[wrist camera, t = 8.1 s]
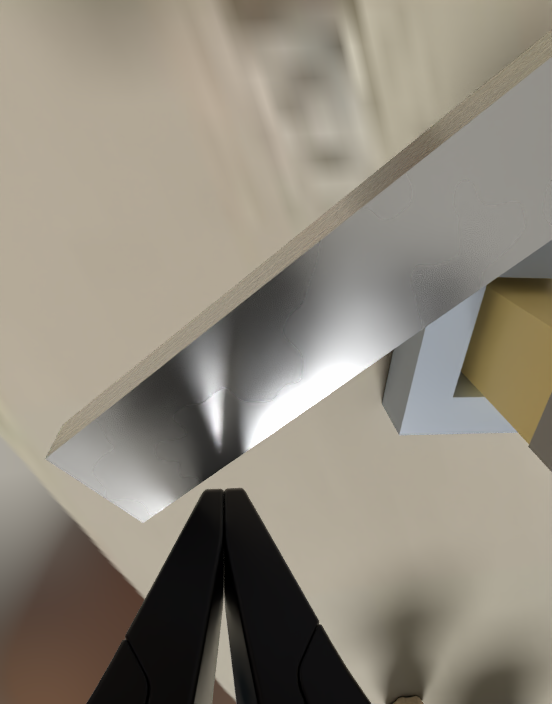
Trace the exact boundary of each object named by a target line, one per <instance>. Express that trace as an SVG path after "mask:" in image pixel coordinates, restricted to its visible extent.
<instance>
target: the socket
mask: <svg viewBox="0 0 552 704" xmlns="http://www.w3.org/2000/svg"><path fill="white" fill-rule="evenodd" d="M499 277H512V278H552V240H551V241H549V242H548V243H546V244H545V245H544V246H542V247H541V248H539V249H538V250H536V251H535V252H533V253H532V254H531V255H529V256H528V257H526V258H525V259H523V260H522V261H520V262H519V263H518V264H516V265H515V266H513V267H512V268H510V269H509V270H507V271H506V272H505V273H503V274H502V275H500V276H499ZM486 286H487V285H486ZM486 286H484V287H483V288H481V289H480V290H479V291H477V292H476V293H474V294H473V295H471V296H470V297H468V298H467V299H466V300H464V301H463V302H461V303H460V304H458V305H457V306H455V307H454V308H453V309H451V310H450V311H448V312H447V313H445V314H444V315H442V316H441V317H440V318H438V319H437V320H435V321H434V322H432V323H431V324H429V325H428V326H427V327H425V328H424V329H422V330H421V331H419V332H418V333H416V334H415V335H414V336H412V337H411V338H409V339H408V340H406V341H405V342H403V343H402V344H401V345H399V346H398V347H396V348H395V349H394V350H393V355H392V359H391V364H390V369H389V374H388V378H387V383H386V388H385V392H384V397H383V402H382V405H383V407H384V409H385V410H386V412H387V414H388V416H389V418H390V419H391V421H392V423H393V425H394V427H395V428H396V430H397V432H398V434H399V435H429V434H472V433H514V432H517V431H516V430H515V429H514V428H513V427H512V426H511V424H510V423H509V422H508V421H507V420H506V419H505V418H504V417H503V416H502V415H501V414H500V413H499V412H498V411H497V409H496V408H495V407H494V406H493V405H492V404H491V403H490V402H489V401H488V400H487V399H486V398H485V397H484V396H483V394H482V393H481V392H480V391H479V390H478V389H477V388H476V387H475V386H474V385H473V384H472V383H471V382H470V381H469V380H468V378H467V377H466V376H465V375H464V374H463V373H462V372H461V368H462V365H463V362H464V359H465V355H466V352H467V349H468V345H469V342H470V339H471V335H472V332H473V329H474V326H475V322H476V319H477V316H478V312H479V309H480V306H481V302H482V299H483V296H484V293H485V289H486Z"/></svg>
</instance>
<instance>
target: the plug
mask: <svg viewBox="0 0 552 704" xmlns="http://www.w3.org/2000/svg"><path fill="white" fill-rule="evenodd" d="M461 372H462V373H463V374H464V375H465V376H466V377H467V378H468V380H469V381H470V382H471V383H472V384H473V385H474V386H475V387H476V388H477V389H478V390H479V391H480V392H481V393H482V394H483V396H484V397H485V398H486V399H487V400H488V401H489V402H490V403H491V404H492V405H493V406H494V407H495V408H496V409H497V411H498V412H499V413H500V414H501V415H502V416H503V417H504V418H505V419H506V420H507V421H508V422H509V423H510V424H511V426H512V427H513V428H514V429H515V430H516V431H517V432H518V433H519V434H520V435H521V436H522V437H523V438H524V439H525V440H526V442H527V443H528V444H529V446H528V447H529V448H530V449H531V450H532V451H533V452H534V453H535V454H536V455H537V456H538V458H539V459H540V460H541V461H542V462H543V463H544V464H545V465H546V466H547V467H548V468H549V469H550V471H551V472H552V278H512V277H497V278H496V279H494V280H493V281H492V282H490V283H489V284H487V286H486V289H485V293H484V296H483V299H482V302H481V306H480V309H479V312H478V316H477V319H476V322H475V326H474V329H473V332H472V335H471V339H470V342H469V345H468V349H467V352H466V355H465V359H464V362H463V365H462V368H461Z"/></svg>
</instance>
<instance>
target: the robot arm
mask: <svg viewBox="0 0 552 704" xmlns="http://www.w3.org/2000/svg"><path fill="white" fill-rule="evenodd" d="M223 597H224V598H225V610H226V618H227V627H228V635H229V644H230V652H231V660H232V669H233V677H234V686H235V694H236V703H237V704H371V702H370V701H369V699H368V698H367V697H366V695H365V694H364V692H363V691H362V689H361V688H360V686H359V685H358V683H357V682H356V681H355V679H354V678H353V676H352V675H351V673H350V672H349V670H348V669H347V667H346V665H345V664H344V662H343V660H342V659H341V657H340V656H339V654H338V652H337V651H336V649H335V647H334V646H333V644H332V642H331V641H330V639H329V637H328V635H327V634H326V632H325V630H324V628H323V627H322V625H320V624H319V620H318V618H317V616H316V615H315V613H314V611H313V609H312V608H311V606H310V604H309V602H308V601H307V599H306V597H305V595H304V594H303V592H302V590H301V588H300V587H299V585H298V583H297V581H296V580H295V578H294V576H293V574H292V573H291V571H290V569H289V567H288V566H287V564H286V562H285V560H284V559H283V557H282V555H281V553H280V551H279V550H278V548H277V546H276V544H275V543H274V541H273V539H272V537H271V536H270V534H269V532H268V530H267V529H266V527H265V525H264V523H263V522H262V520H261V518H260V516H259V515H258V513H257V511H256V509H255V508H254V506H253V504H252V502H251V501H250V499H249V497H248V495H247V494H246V492H245V490H244V489H242V488H231V489H226V490H225V491H223V490H222V489H207V490H205V491H204V492H203V493H202V495H201V497H200V498H199V500H198V502H197V504H196V506H195V508H194V510H193V511H192V513H191V515H190V517H189V519H188V521H187V522H186V524H185V526H184V528H183V530H182V532H181V534H180V535H179V537H178V539H177V541H176V543H175V545H174V547H173V548H172V550H171V552H170V554H169V556H168V558H167V560H166V561H165V563H164V565H163V567H162V569H161V571H160V572H159V574H158V576H157V578H156V580H155V582H154V584H153V585H152V587H151V589H150V591H149V593H148V595H147V597H146V598H145V600H144V602H143V604H142V606H141V608H140V609H139V611H138V613H137V615H136V617H135V619H134V621H133V623H132V624H131V627H130V628H129V630H128V632H127V634H126V636H125V638H126V640H123V641H122V642H121V645H120V646H119V648H118V650H117V652H116V653H115V655H114V658H113V659H112V661H111V663H110V664H109V666H108V668H107V670H106V671H105V673H104V675H103V677H102V678H101V680H100V682H99V684H98V686H97V687H96V689H95V690H94V692H93V694H92V696H91V697H90V699H89V700H88V702H87V703H86V704H212V698H213V689H214V680H215V672H216V663H217V654H218V645H219V636H220V627H221V619H222V609H223Z"/></svg>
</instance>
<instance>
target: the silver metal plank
mask: <svg viewBox="0 0 552 704" xmlns="http://www.w3.org/2000/svg"><path fill="white" fill-rule="evenodd" d="M551 240H552V30H551V31H550V32H548V33H547V34H546V35H545V36H543V37H542V38H541V39H540V40H538V41H537V42H536V43H535V44H533V45H532V46H531V47H530V48H528V49H527V50H526V51H525V52H524V53H522V54H521V55H520V56H519V57H517V58H516V59H515V60H514V61H512V62H511V63H510V64H509V65H507V66H506V67H505V68H504V69H502V70H501V71H500V72H499V73H498V74H496V75H495V76H494V77H493V78H491V79H490V80H489V81H488V82H486V83H485V84H484V85H483V86H481V87H480V88H479V89H478V90H477V91H475V92H474V93H473V94H472V95H470V96H469V97H468V98H467V99H465V100H464V101H463V102H462V103H460V104H459V105H458V106H457V107H455V108H454V109H453V110H452V111H451V112H449V113H448V114H447V115H446V116H444V117H443V118H442V119H441V120H439V121H438V122H437V123H436V124H434V125H433V126H432V127H431V128H430V129H428V130H427V131H426V132H425V133H423V134H422V135H421V136H420V137H418V138H417V139H416V140H415V141H413V142H412V143H411V144H410V145H408V146H407V147H406V148H405V149H404V150H402V151H401V152H400V153H399V154H397V155H396V156H395V157H394V158H392V159H391V160H390V161H389V162H387V163H386V164H385V165H384V166H382V167H381V168H380V169H379V170H378V171H376V172H375V173H374V174H373V175H371V176H370V177H369V178H368V179H366V180H365V181H364V182H363V183H361V184H360V185H359V186H358V187H357V188H355V189H354V190H353V191H352V192H350V193H349V194H348V195H347V196H345V197H344V198H343V199H342V200H340V201H339V202H338V203H337V204H335V205H334V206H333V207H332V208H331V209H329V210H328V211H327V212H326V213H324V214H323V215H322V216H321V217H319V218H318V219H317V220H316V221H314V222H313V223H312V224H311V225H309V226H308V227H307V228H306V229H305V230H303V231H302V232H301V233H300V234H298V235H297V236H296V237H295V238H293V239H292V240H291V241H290V242H288V243H287V244H286V245H285V246H284V247H282V248H281V249H280V250H279V251H277V252H276V253H275V254H274V255H272V256H271V257H270V258H269V259H267V260H266V261H265V262H264V263H262V264H261V265H260V266H259V267H258V268H256V269H255V270H254V271H253V272H251V273H250V274H249V275H248V276H246V277H245V278H244V279H243V280H241V281H240V282H239V283H238V284H237V285H235V286H234V287H233V288H232V289H230V290H229V291H228V292H227V293H225V294H224V295H223V296H222V297H220V298H219V299H218V300H217V301H215V302H214V303H213V304H212V305H211V306H209V307H208V308H207V309H206V310H204V311H203V312H202V313H201V314H199V315H198V316H197V317H196V318H194V319H193V320H192V321H191V322H189V323H188V324H187V325H186V326H185V327H183V328H182V329H181V330H180V331H178V332H177V333H176V334H175V335H173V336H172V337H171V338H170V339H168V340H167V341H166V342H165V343H164V344H162V345H161V346H160V347H159V348H157V349H156V350H155V351H154V352H152V353H151V354H150V355H149V356H147V357H146V358H145V359H144V360H142V361H141V362H140V363H139V364H138V365H136V366H135V367H134V368H133V369H131V370H130V371H129V372H128V373H126V374H125V375H124V376H123V377H121V378H120V379H119V380H118V381H116V382H115V383H114V384H113V385H112V386H110V387H109V388H108V389H107V390H105V391H104V392H103V393H102V394H100V395H99V396H98V397H97V398H95V399H94V400H93V401H92V402H91V403H89V404H88V405H87V406H86V407H84V408H83V409H82V410H81V411H79V412H78V413H77V414H76V415H74V416H73V417H72V418H71V419H69V420H68V421H67V422H66V423H65V424H63V425H62V427H61V429H60V431H59V433H58V435H57V437H56V439H55V441H54V443H53V445H52V447H51V448H50V450H49V452H48V454H47V456H46V458H45V459H46V460H47V461H49V462H51V463H52V464H54V465H55V466H57V467H58V468H60V469H61V470H63V471H64V472H66V473H67V474H69V475H70V476H72V477H73V478H75V479H76V480H78V481H80V482H81V483H83V484H84V485H86V486H87V487H89V488H90V489H92V490H93V491H95V492H96V493H98V494H99V495H101V496H102V497H104V498H105V499H107V500H109V501H110V502H112V503H113V504H115V505H116V506H118V507H119V508H121V509H122V510H124V511H125V512H127V513H128V514H130V515H131V516H133V517H134V518H136V519H138V520H139V521H141V522H142V523H144V522H145V521H147V520H148V519H149V518H151V517H152V516H154V515H155V514H157V513H158V512H160V511H161V510H162V509H164V508H165V507H167V506H168V505H170V504H171V503H173V502H174V501H175V500H177V499H178V498H180V497H181V496H183V495H184V494H186V493H187V492H188V491H190V490H191V489H193V488H194V487H196V486H197V485H199V484H200V483H201V482H203V481H204V480H206V479H207V478H209V477H210V476H212V475H213V474H214V473H216V472H217V471H219V470H220V469H222V468H223V467H225V466H226V465H227V464H229V463H230V462H232V461H233V460H235V459H236V458H238V457H239V456H240V455H242V454H243V453H245V452H246V451H248V450H249V449H251V448H252V447H253V446H255V445H256V444H258V443H259V442H261V441H262V440H263V439H265V438H266V437H268V436H269V435H271V434H272V433H274V432H275V431H276V430H278V429H279V428H281V427H282V426H284V425H285V424H287V423H288V422H289V421H291V420H292V419H294V418H295V417H297V416H298V415H300V414H301V413H302V412H304V411H305V410H307V409H308V408H310V407H311V406H313V405H314V404H315V403H317V402H318V401H320V400H321V399H323V398H324V397H326V396H327V395H328V394H330V393H331V392H333V391H334V390H336V389H337V388H339V387H340V386H341V385H343V384H344V383H346V382H347V381H349V380H350V379H352V378H353V377H354V376H356V375H357V374H359V373H360V372H362V371H363V370H365V369H366V368H367V367H369V366H370V365H372V364H373V363H375V362H376V361H378V360H379V359H380V358H382V357H383V356H385V355H386V354H388V353H389V352H391V351H392V350H393V349H395V348H396V347H398V346H399V345H401V344H402V343H403V342H405V341H406V340H408V339H409V338H411V337H412V336H414V335H415V334H416V333H418V332H419V331H421V330H422V329H424V328H425V327H427V326H428V325H429V324H431V323H432V322H434V321H435V320H437V319H438V318H440V317H441V316H442V315H444V314H445V313H447V312H448V311H450V310H451V309H453V308H454V307H455V306H457V305H458V304H460V303H461V302H463V301H464V300H466V299H467V298H468V297H470V296H471V295H473V294H474V293H476V292H477V291H479V290H480V289H481V288H483V287H484V286H486V285H487V284H489V283H490V282H492V281H493V280H494V279H496V278H497V277H499V276H500V275H502V274H503V273H505V272H506V271H507V270H509V269H510V268H512V267H513V266H515V265H516V264H518V263H519V262H520V261H522V260H523V259H525V258H526V257H528V256H529V255H531V254H532V253H533V252H535V251H536V250H538V249H539V248H541V247H542V246H544V245H545V244H546V243H548V242H549V241H551Z"/></svg>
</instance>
